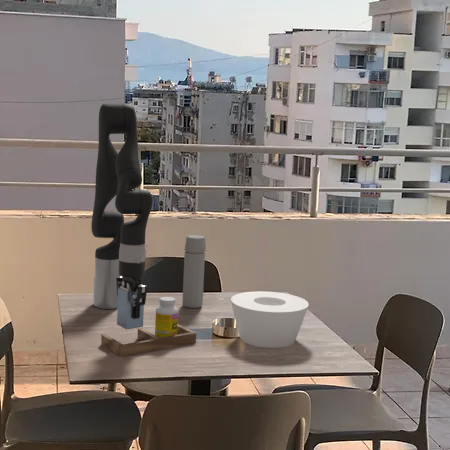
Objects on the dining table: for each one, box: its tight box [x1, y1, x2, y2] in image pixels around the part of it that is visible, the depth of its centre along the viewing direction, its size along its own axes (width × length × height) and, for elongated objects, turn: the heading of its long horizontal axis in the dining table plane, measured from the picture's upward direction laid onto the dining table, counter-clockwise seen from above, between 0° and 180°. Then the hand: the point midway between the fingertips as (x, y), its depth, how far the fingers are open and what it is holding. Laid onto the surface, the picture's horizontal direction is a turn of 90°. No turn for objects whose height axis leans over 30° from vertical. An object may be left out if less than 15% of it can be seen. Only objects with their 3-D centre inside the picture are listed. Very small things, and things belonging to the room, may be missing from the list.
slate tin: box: [116, 286, 145, 330], centre depth 210 cm, size 6×6×12 cm
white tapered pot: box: [230, 291, 310, 349], centre depth 224 cm, size 24×24×12 cm
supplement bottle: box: [154, 296, 179, 338], centre depth 218 cm, size 7×7×13 cm
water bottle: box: [182, 234, 207, 309], centre depth 257 cm, size 9×8×25 cm
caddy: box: [100, 323, 197, 357], centre depth 215 cm, size 12×26×3 cm, turn 127°
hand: (130, 315), depth 210 cm, fingers closed on slate tin, 5 cm apart
